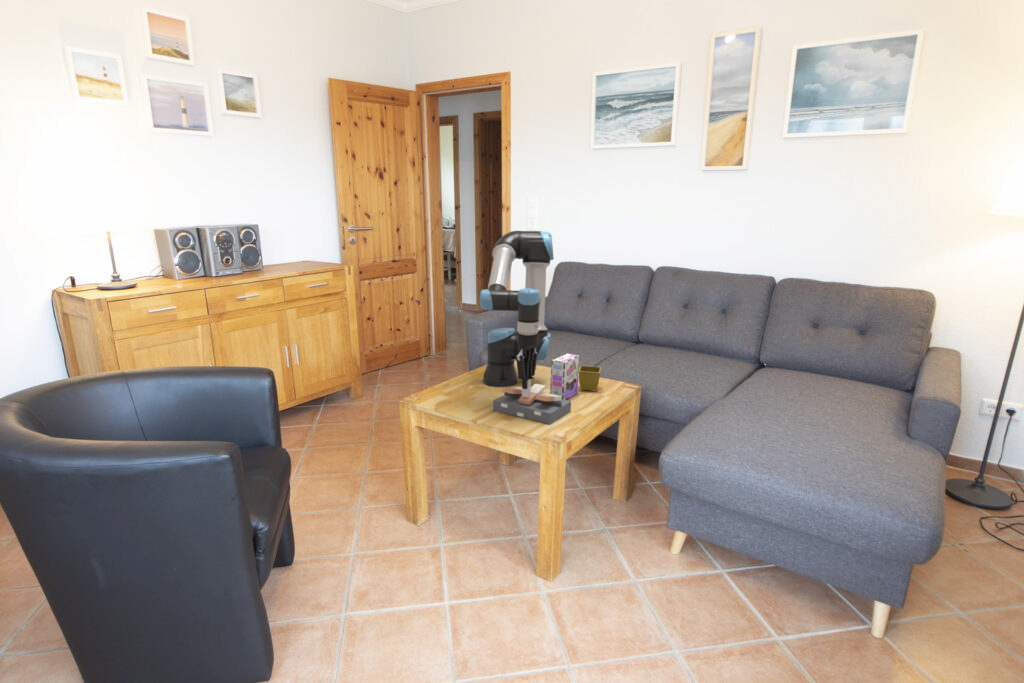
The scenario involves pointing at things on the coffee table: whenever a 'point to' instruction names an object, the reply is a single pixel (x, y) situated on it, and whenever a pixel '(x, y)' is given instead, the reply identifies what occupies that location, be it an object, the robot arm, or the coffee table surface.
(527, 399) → the rocker middle
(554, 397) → the rocker right
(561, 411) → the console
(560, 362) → the candy box
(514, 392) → the rocker left
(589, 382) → the flower pot
